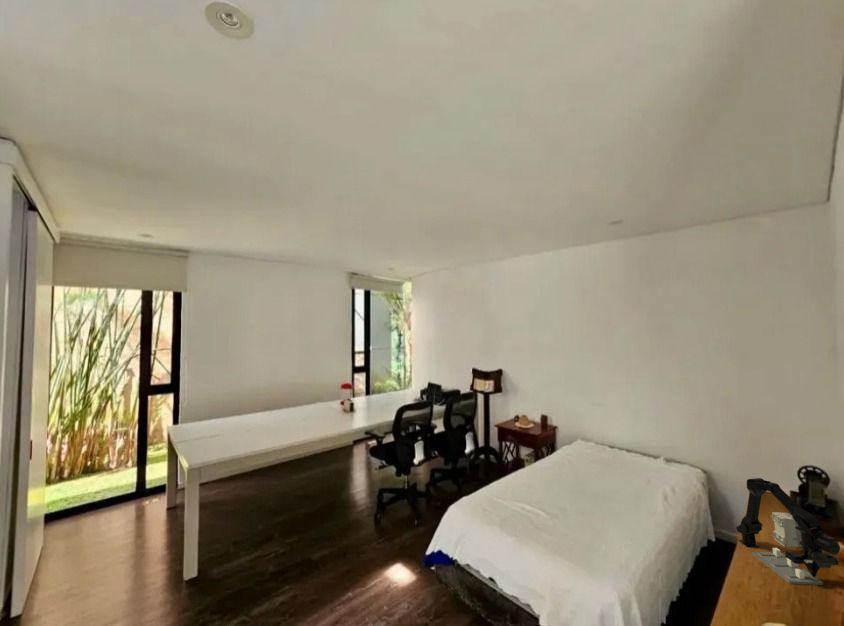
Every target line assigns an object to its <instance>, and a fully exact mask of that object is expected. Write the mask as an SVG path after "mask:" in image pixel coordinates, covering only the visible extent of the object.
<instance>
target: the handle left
mask: <svg viewBox="0 0 844 626" xmlns="http://www.w3.org/2000/svg"><path fill="white" fill-rule="evenodd" d="M772 552H773V554H774V555H775V556H777V557H781V553H782V552H781V549H779V548H778V547H772Z"/></svg>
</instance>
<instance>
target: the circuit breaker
mask: <svg viewBox="0 0 844 626" xmlns="http://www.w3.org/2000/svg"><path fill="white" fill-rule="evenodd" d="M771 513H772V514H771V520H772V521H773V522H774V530H773V537H774V540H775V541H776V542H777V543H779V544H780V545H782V546H783V547H787V548H788V547H791V548H802V545H801V544H800V543H799V541H801V532H800V530H798V529H796V528H795V527H797V526H798V524H797V523H796V522H795V520H794V519H793V517H792V514H791V513H790V512H776V511H775V512H773V511H772V512H771Z"/></svg>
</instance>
